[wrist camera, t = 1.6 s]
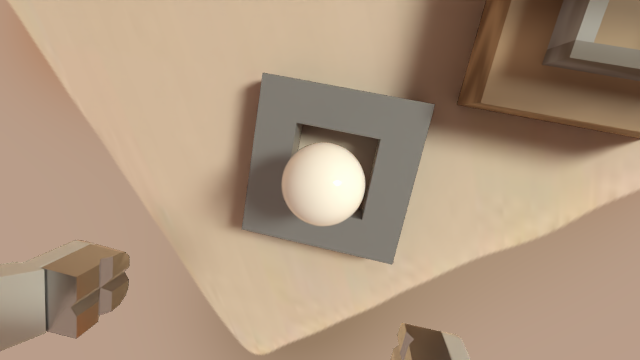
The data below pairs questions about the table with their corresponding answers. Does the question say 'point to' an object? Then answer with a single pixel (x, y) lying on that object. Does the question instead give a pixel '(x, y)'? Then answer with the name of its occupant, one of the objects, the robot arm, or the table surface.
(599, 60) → the raised socket stand
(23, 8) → the table surface
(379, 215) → the low socket block
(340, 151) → the lightbulb
